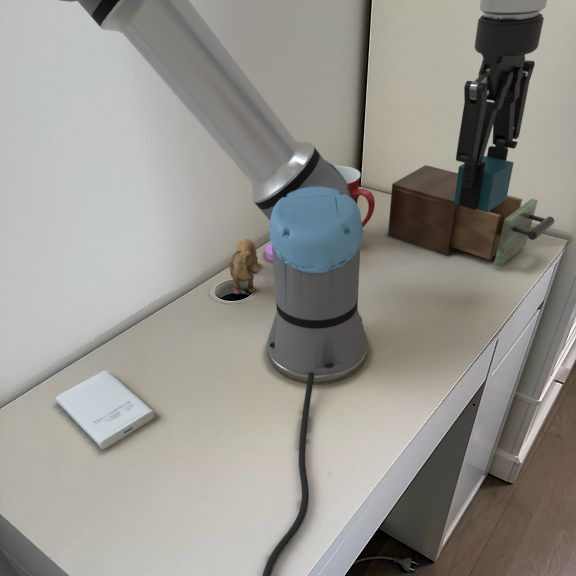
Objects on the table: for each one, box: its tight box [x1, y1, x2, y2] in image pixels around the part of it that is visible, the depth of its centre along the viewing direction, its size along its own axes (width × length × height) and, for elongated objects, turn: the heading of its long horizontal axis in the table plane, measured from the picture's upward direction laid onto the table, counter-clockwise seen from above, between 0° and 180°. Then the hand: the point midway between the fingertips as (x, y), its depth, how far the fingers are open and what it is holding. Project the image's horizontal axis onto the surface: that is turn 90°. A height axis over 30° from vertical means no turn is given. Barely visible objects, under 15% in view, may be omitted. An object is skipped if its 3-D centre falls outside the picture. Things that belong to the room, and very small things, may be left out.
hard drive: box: [55, 369, 156, 450], centre depth 75 cm, size 2×8×12 cm
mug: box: [334, 165, 376, 228], centre depth 104 cm, size 13×9×14 cm
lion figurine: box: [228, 238, 262, 295], centre depth 96 cm, size 15×5×9 cm, turn 6°
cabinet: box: [387, 164, 458, 256], centre depth 106 cm, size 14×12×11 cm
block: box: [454, 155, 514, 212], centre depth 79 cm, size 6×6×6 cm
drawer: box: [451, 194, 555, 268], centre depth 99 cm, size 17×10×9 cm, turn 47°
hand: (479, 199), depth 81 cm, fingers closed on block, 5 cm apart
